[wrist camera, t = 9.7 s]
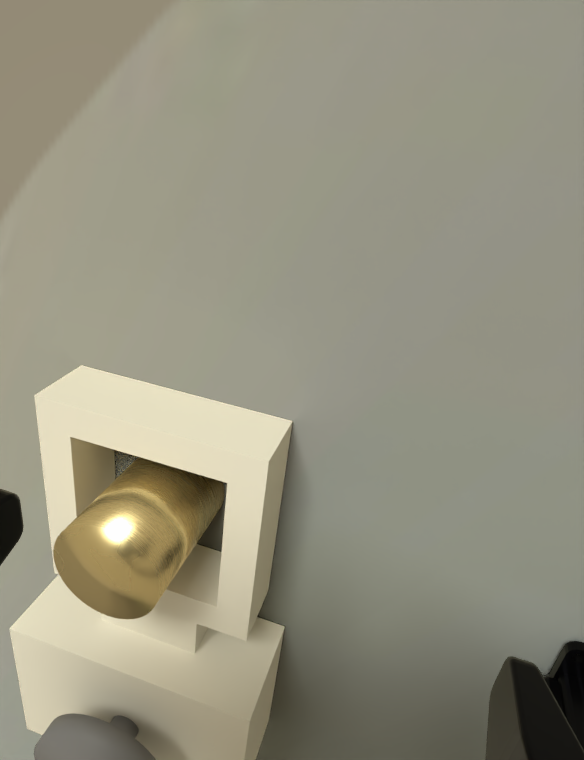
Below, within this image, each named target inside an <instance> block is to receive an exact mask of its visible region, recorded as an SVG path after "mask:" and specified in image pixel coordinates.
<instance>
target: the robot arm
mask: <svg viewBox="0 0 584 760" xmlns="http://www.w3.org/2000/svg"><path fill="white" fill-rule="evenodd" d="M22 532H23V519H22V512H21V505H20V499H19V497H18V496H17V495H16V494H15V493H12V492H9V491H6V490H2V489H0V565H1V564H2V563H3V561H4V560H5V558H6V557H7V556H8V554H9V553H10V552H11V550H12V549H13V547H14V546H15V545H16V543H17V542H18V540H19V539H20V537H21V535H22ZM577 654H580V655H577ZM486 760H584V643H582V642H577V641H574V642H569V643H567V644H566V645H565V646H564V648H563V650H562V652H561V654H560V655H559V657H558V659H557V661H556V663H555V665H554V667H553V668H552V670H551V672H550V674H549V676H546V677H544V678H543V676H542V674H541V672H540V670H539V669H538V667H537V666H536V665H535V664H533V663H531V662H528V661H525V660H522V659H519V658H516V657H512V656H510V657H508V658H507V659H506V660H505V662H504V664H503V666H502V668H501V670H500V672H499V674H498V676H497V679H496V681H495V683H494V685H493V687H492V691H491V695H490V702H489V716H488V731H487V745H486Z"/></svg>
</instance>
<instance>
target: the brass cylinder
mask: <svg viewBox="0 0 584 760" xmlns="http://www.w3.org/2000/svg"><path fill="white" fill-rule="evenodd" d="M223 500H224V486H223V482H222V481H219V480H215V479H212V478H208V477H205V476H202V475H198V474H195V473H192V472H188V471H185V470H181V469H178V468H175V467H171V466H168V465H164V464H161V463H158V462H154V461H151V460H148V459H144V458H141V457H138V458H137V459H136V460H135V461H134V462H133V463H132V464H131V465H130V466H129V467H128V468H127V469H126V470H125V471H124V472H123V473H122V474H121V475H120V476H118V477H117V478H116V479H115V480H114V481H113V482H112V483H111V484H110V485H109V486H108V487H107V488H106V489H105V490H104V491H103V492H102V493H101V494H100V495H99V496H98V497H97V498H96V499H95V500H94V501H93V502H92V503H91V504H90V505H89V506H88V507H87V508H86V509H85V510H84V511H83V512H82V513H81V514H80V515H79V516H78V517H77V518H76V519H75V520H74V521H72V522H71V523H70V524H69V525H68V526H67V527H66V528H65V529H64V530H63V531H62V532H61V533H60V535H59V536H58V537H57V539H56V541H55V544H54V549H53V557H54V562H55V565H56V569H57V571H58V573H59V575H60V577H61V579H62V580H63V582H64V583H65V585H66V586H67V587H68V588H69V589H70V591H71V592H72V593H73V594H74V595H75V596H76V597H77V598H78V599H80V600H81V601H82V602H83V603H85V604H86V605H87V606H89V607H91V608H92V609H94V610H96V611H98V612H100V613H102V614H104V615H107V616H110V617H113V618H118V619H137V618H140V617H143V616H145V615H147V614H148V613H149V612H151V611H152V609H153V608H154V607H155V605H156V604H157V602H158V601H159V599H160V598H161V596H162V595H163V593H164V592H165V590H166V589H167V587H168V586H169V584H170V583H171V581H172V580H173V578H174V577H175V575H176V574H177V572H178V571H179V569H180V568H181V566H182V565H183V563H184V562H185V560H186V559H187V557H188V556H189V554H190V553H191V551H192V550H193V548H194V547H195V545H196V544H197V542H198V541H199V539H200V538H201V536H202V535H203V533H204V532H205V530H206V529H207V527H208V526H209V524H210V523H211V521H212V520H213V518H214V517H215V515H216V514H217V512H218V511H219V509H220V508H221V506H222V503H223Z"/></svg>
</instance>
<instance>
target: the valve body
mask: <svg viewBox="0 0 584 760" xmlns="http://www.w3.org/2000/svg"><path fill="white" fill-rule="evenodd" d="M35 404H36V413H37V422H38V431H39V440H40V449H41V457H42V466H43V475H44V484H45V493H46V502H47V511H48V520H49V529H50V538H51V546H52V555H53V549H54V544H55V541H56V539H57V537H58V536H59V535H60V533H61V532H62V531H63V530H64V529H65V528H66V527H67V526H68V525H69V524H70V523H71V522H72V521H74V520H75V519H76V518H77V517H78V516H79V515H80V514H81V513H82V512H83V511H84V510H85V509H86V508H87V507H88V506H89V505H90V504H91V503H92V502H93V501H94V500H95V499H96V498H97V497H98V496H99V495H100V494H101V493H102V492H103V491H104V490H105V489H106V488H107V487H108V486H109V485H110V484H111V483H112V482H113V481H114V480H115V454H114V450H117V451H120V452H124V453H127V454H131V455H134V456H137V457H141V458H144V459H148V460H151V461H154V462H158V463H161V464H164V465H168V466H171V467H175V468H178V469H181V470H185V471H188V472H192V473H195V474H198V475H202V476H205V477H208V478H212V479H215V480H219V481H222V482H225V483H227V493H226V505H225V517H224V529H223V541H222V552H220V551H217V550H214V549H210V548H207V547H204V546H201V545H198V544H196V545H195V547H194V548H193V550H192V551H191V553H190V554H189V556H188V557H187V559H186V560H185V562H184V563H183V565H182V566H181V568H180V569H179V571H178V572H177V574H176V575H175V577H174V578H173V580H172V581H171V583H170V584H169V586H168V587H167V589H166V590H165V592H164V593H163V595H162V596H161V598H160V599H159V601H158V602H157V604H156V605H155V607H154V608H153V609H152V611H151V612H149V613H148V614H147V615H145V616H143V617H140V618H137V619H118V618H113V617H110V616H107V615H104V614H102V613H100V612H98V611H96V610H94V609H92V608H91V607H89V606H87V605H86V604H85V603H83V602H82V601H81V600H80V599H78V598H77V597H76V596H75V595H74V594H73V593H72V592H71V591H70V589H69V588H68V587H67V586H66V585H65V583H64V582H63V580H62V579H61V577H60V575H58V576H57V577H56V578H55V579H54V580H53V581H52V582H51V583H50V585H49V586H48V587H47V588H46V589H45V590H44V591H43V592H42V593H41V594H40V596H39V597H38V598H37V599H36V600H35V601H34V602H33V603H32V604H31V606H30V607H29V608H28V609H27V610H26V611H25V612H24V613H23V614H22V615H21V617H20V618H19V619H18V620H17V621H16V622H15V623H14V624H13V625H12V627H11V628H10V634H11V640H12V646H13V651H14V657H15V662H16V668H17V674H18V679H19V685H20V691H21V696H22V702H23V708H24V713H25V719H26V724H27V729H29V730H32V731H34V732H36V733H39V734H41V735H42V737H41V738H40V740H39V741H38V742H37V744H36V746H35V749H34V757H35V760H256V757H257V754H258V751H259V748H260V745H261V742H262V739H263V736H264V733H265V730H266V727H267V724H268V721H269V716H270V710H271V704H272V699H273V693H274V687H275V681H276V675H277V669H278V664H279V658H280V652H281V646H282V640H283V634H284V628H285V626H282V625H279V624H276V623H273V622H270V621H267V620H265V619H262V618H259V617H257V616H258V613H259V611H260V609H261V606H262V604H263V602H264V599H265V597H266V595H267V592H268V590H269V583H270V576H271V569H272V562H273V555H274V548H275V541H276V534H277V527H278V520H279V513H280V506H281V499H282V492H283V485H284V478H285V471H286V464H287V457H288V450H289V443H290V437H291V430H292V423H293V421H290V420H287V419H283V418H279V417H275V416H271V415H268V414H264V413H260V412H256V411H252V410H249V409H245V408H241V407H237V406H234V405H230V404H226V403H222V402H218V401H215V400H211V399H207V398H203V397H200V396H196V395H192V394H188V393H184V392H181V391H177V390H173V389H169V388H165V387H162V386H158V385H154V384H150V383H147V382H143V381H139V380H135V379H131V378H128V377H124V376H120V375H116V374H113V373H109V372H105V371H101V370H97V369H94V368H90V367H86V366H82V365H81V366H80V367H78V368H76V369H75V370H73V371H72V372H70V373H69V374H67V375H65V376H64V377H62V378H61V379H59V380H58V381H56V382H54V383H53V384H51V385H50V386H48V387H47V388H45V389H44V390H42V391H40V392H39V393H37V394H36V395H35ZM53 564H54V573H56V574H59V573H58V571H57V569H56V565H55V562H54V557H53Z"/></svg>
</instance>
